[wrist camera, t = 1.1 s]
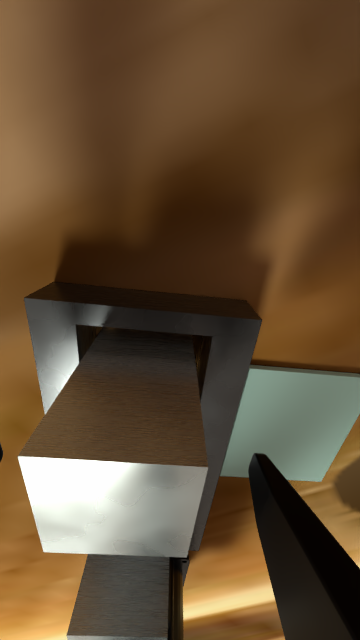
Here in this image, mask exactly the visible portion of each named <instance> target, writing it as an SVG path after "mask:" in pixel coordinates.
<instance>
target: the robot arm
mask: <svg viewBox="0 0 360 640" xmlns="http://www.w3.org/2000/svg"><path fill="white" fill-rule="evenodd" d="M2 456H3V450H2V447H1V444H0V462H1V459H2ZM248 474H249V481H250V487H251V493H252V500H253V506H254V512H255V518H256V524H257V528H258V533H259V537H260V541H261V544H262V548H263V552H264V556H265V560H266V564H267V568H268V572H269V576H270V580H271V584H272V588H273V592H274V596H275V600H276V604H277V608H278V612H279V616H280V620H281V624H282V628H283V632H284V636H285V640H360V568H359V567H358V566H357V565H356V563H355V562H354V561H353V560H352V559H351V557H350V556H349V555H348V554H347V553H346V551H345V550H344V549H343V548H342V546H341V545H340V544H339V543H338V542H337V540H336V539H335V538H334V537H333V535H332V534H331V533H330V532H329V531H328V529H327V528H326V527H325V526H324V524H323V523H322V522H321V521H320V520H319V518H318V517H317V516H316V515H315V514H314V512H313V511H312V510H311V509H310V507H309V506H308V505H307V504H306V503H305V501H304V500H303V499H302V498H301V496H300V495H299V494H298V493H297V492H296V490H295V489H294V488H293V487H292V486H291V484H290V483H289V482H288V481H287V479H286V478H285V477H284V476H283V475H282V473H281V472H280V471H279V470H278V468H277V467H276V466H275V465H274V464H273V462H272V461H271V460H270V459H269V457H268V456H267V455H266V454H264V453H254V454H253V456H252V458H251V461H250V464H249V468H248ZM188 566H189V555H187V558H186V557H169V594H168V636H167V640H183V586H184V582H185V578H186V574H187V570H188Z"/></svg>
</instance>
